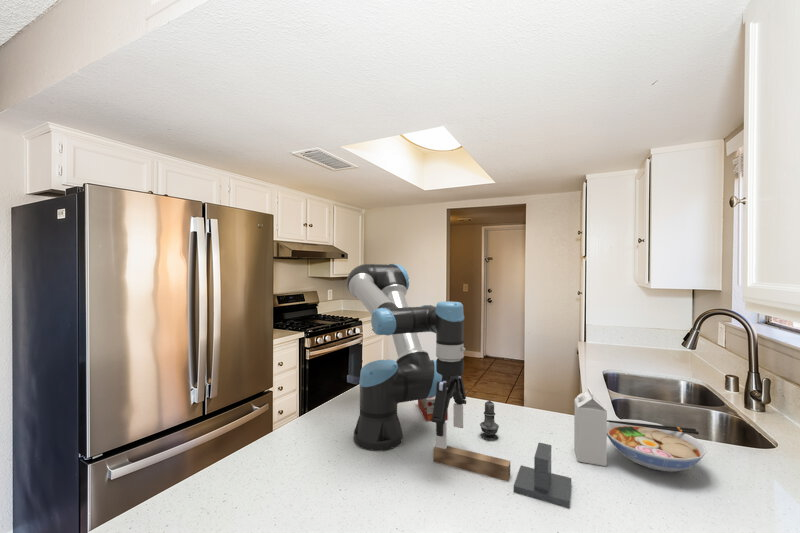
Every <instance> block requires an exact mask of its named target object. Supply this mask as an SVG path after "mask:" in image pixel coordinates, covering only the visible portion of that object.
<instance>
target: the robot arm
mask: <svg viewBox="0 0 800 533" xmlns="http://www.w3.org/2000/svg"><path fill="white" fill-rule="evenodd" d="M409 279H410V278H409V274H408V271H407V270H406V268H405V266H403V265H401V264H395V263H389V264H386V263H385V264H380V263H379V264H377V263H365V264H360V265H358V266H356V267H354V268H352V270H351V271H350V272H349V273H348V276H347V278H346V287H347V291H348V292H349V293H350V294H351V295H352V296H353V297H354V298H357V299H358V300H359V301H360V302H361V304H362V305H363V306H364V308H366V310H367V311H368V312H369V314H370V315H371V317H370V318H371V319H370V324H371V327H372V331H373V333H374V334H375V335H377V336H392V339H393V344H394V347H395V350H396V355H397V359H396V360H393V359H378V360H374V361H370V362H368V363H366V364H365V365H364V366H362V367H361V369H360V373H359V375H360V376H359V381H358V382H359V383H358V384H359V414H358V418H357V421H356V425H355V427H354V431H353V442H354V444H355V445H356V446H357V447H359V448H361V449H363V450H367V451H375V452H376V451H377V452H378V451H379V452H380V451H388V450H391V449H393V448H396V447H398V446H399V445H401V443H402V442H403V439H404V438H403V436H404V435H403V433H404V432H403V428H402V424H401V422H400V421H401V420H400V419H399V414H398V404H400V403H401V404H402V403H407V402H413V401H418V400H421V399H427V398H431V397H434V396H436V397H435V403H434V409H433V415H432V421H431V422H432V423H435V446H436V447H439V448H443V449H446V448H447V446H448V444H447V443H448V442H447V441H448V440H447V438H448V437H447V436H448V435H447V434H448V433H447V428H448V427H447V421H446V420H445V419H446V415H447V410H448V409H449V405H450V401H451V399H452V398H453V401H454V403H453V404H452V405H453V406H452V407H453V416H452V417H453V427H454V428H459V429H463V428H464V405H467V400H466V399H467V398H466V397H467V396H466V391H465V390H466V389H465V386H464V380H463V374H464V372H465V360H464V357H465V353H464V352H466V348H465V347H464V340H465V338H464V336H465V331H464V330H465V315H464V304H462V302H460V301H450V300H449V301H448V300H447V301H439V302H437V304H436V306H435V305H431V304H429V305H425V304H424V305H420V306H408V301H407V299H406V295H407V293H408V290H409V289H410V288H409V287H410V281H409ZM427 332H428V333H429V332H430V333H434V334H436V336H435V339H436V340H435V342H436V343H435V344H436V345H435V356H436V357H437V358H436V360H435V359H430V356H429V352H427V351H425V350H424V349H423V348H422V346H421V343H420V339H419V336H418V333H427ZM448 411H449V410H448ZM438 417H439V418H438Z"/></svg>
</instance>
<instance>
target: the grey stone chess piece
mask: <svg viewBox="0 0 800 533" xmlns="http://www.w3.org/2000/svg"><path fill="white" fill-rule="evenodd" d="M483 414H484V419H483V421H482V422H480V423H479V426H480V429H481V432H482V433H481V434H480V437H481V439H482V440H486V441H490V442H494V441H497V440H498V439H499V436H498V435H497V433H498V432H499V428H500V426H499V424H498V423H496V421H495V416H496V413H495V404H494V402H493V401H492V400H491V398H489V399H488V400H487V401H485V403H484V411H483Z"/></svg>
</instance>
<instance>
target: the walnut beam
mask: <svg viewBox="0 0 800 533" xmlns="http://www.w3.org/2000/svg"><path fill="white" fill-rule="evenodd" d="M432 452H433V454H432V455H433V457H432V458H433V463H437V464H440V465H444V466H448V467H452V468H456V469H460V470H463V471H467V472H471V473H474V474H478V475H481V476H486V477H490V478H493V479H497V480H501V481H504V482H509V480H510V477H511V460H509V459H506V458H505V459H504V458H501V457H500V458H499V457H495V456H492V455H487V454H484V453H480V452H475V451H471V450H467V449H463V448H458V447H455V446H450V445H447V448H446V449H443V448H439V447H436V445H435V446H434V447H433V450H432Z"/></svg>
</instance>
